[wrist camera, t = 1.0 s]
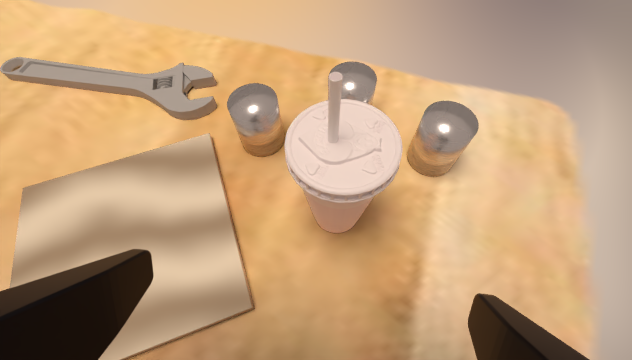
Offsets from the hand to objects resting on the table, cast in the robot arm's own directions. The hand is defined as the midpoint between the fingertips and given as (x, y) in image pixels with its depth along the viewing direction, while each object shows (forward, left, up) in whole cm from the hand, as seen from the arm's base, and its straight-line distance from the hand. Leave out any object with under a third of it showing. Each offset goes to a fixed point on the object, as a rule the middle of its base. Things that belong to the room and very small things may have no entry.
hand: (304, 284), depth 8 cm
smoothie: (+6, -6, -14) cm, 16 cm away
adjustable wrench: (+32, +7, -15) cm, 35 cm away
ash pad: (+12, +10, -14) cm, 21 cm away
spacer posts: (+12, -11, -14) cm, 21 cm away
